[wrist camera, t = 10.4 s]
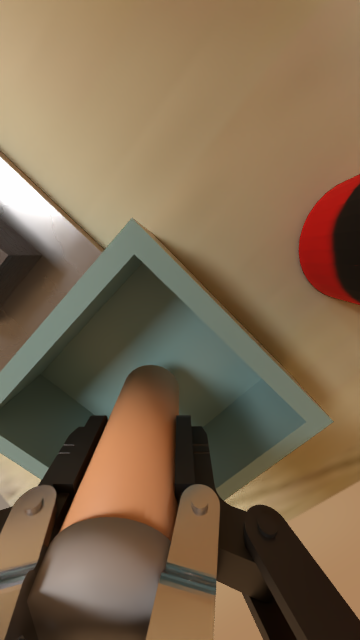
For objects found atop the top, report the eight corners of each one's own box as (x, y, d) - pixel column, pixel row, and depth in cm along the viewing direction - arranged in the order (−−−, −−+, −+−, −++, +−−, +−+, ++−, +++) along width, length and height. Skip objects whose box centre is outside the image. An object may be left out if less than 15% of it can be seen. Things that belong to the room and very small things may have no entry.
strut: (124, 414, 15) (32, 677, 6) (120, 363, 14) (0, 579, 5) (180, 414, 15) (181, 677, 6) (180, 363, 14) (180, 579, 5)
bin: (28, 368, 18) (-45, 423, 12) (150, 231, 15) (132, 217, 9) (159, 468, 20) (151, 552, 15) (283, 367, 18) (333, 421, 12)
